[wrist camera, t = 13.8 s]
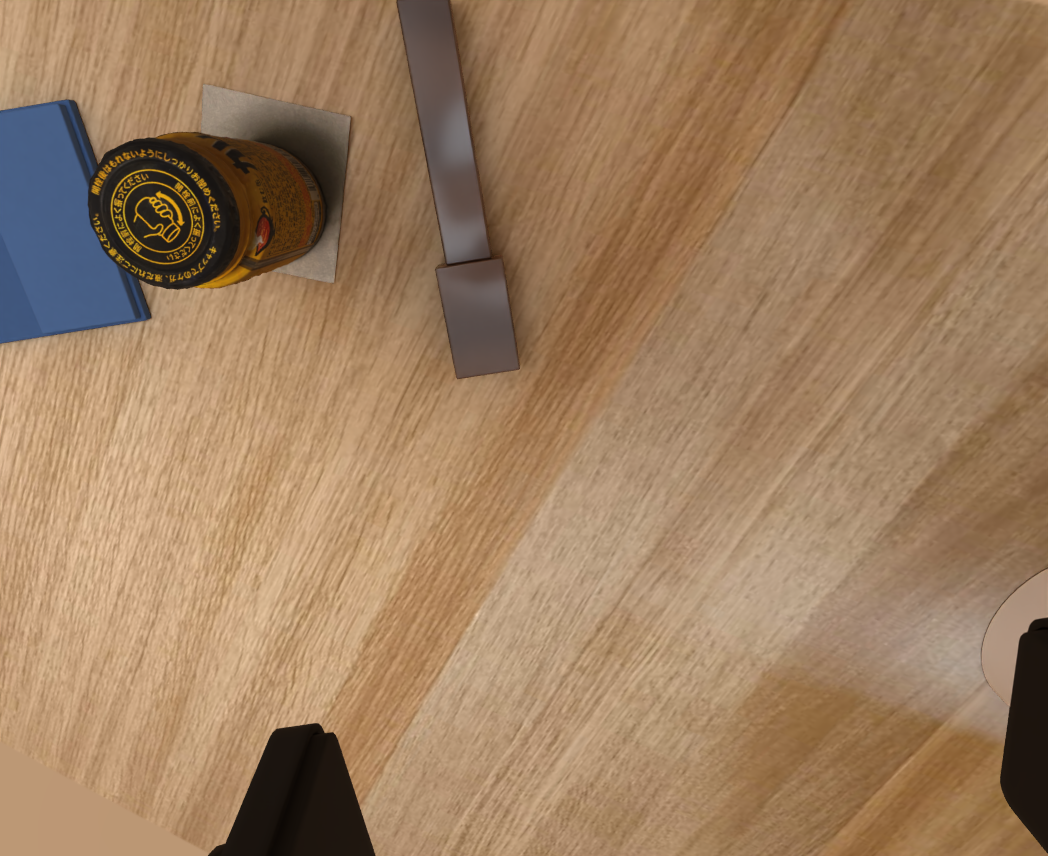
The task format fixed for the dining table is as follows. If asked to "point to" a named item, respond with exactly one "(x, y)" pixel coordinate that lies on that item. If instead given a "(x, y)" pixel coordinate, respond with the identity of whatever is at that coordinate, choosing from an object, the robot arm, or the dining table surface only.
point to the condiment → (226, 195)
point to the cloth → (54, 231)
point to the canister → (1012, 633)
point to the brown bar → (457, 196)
